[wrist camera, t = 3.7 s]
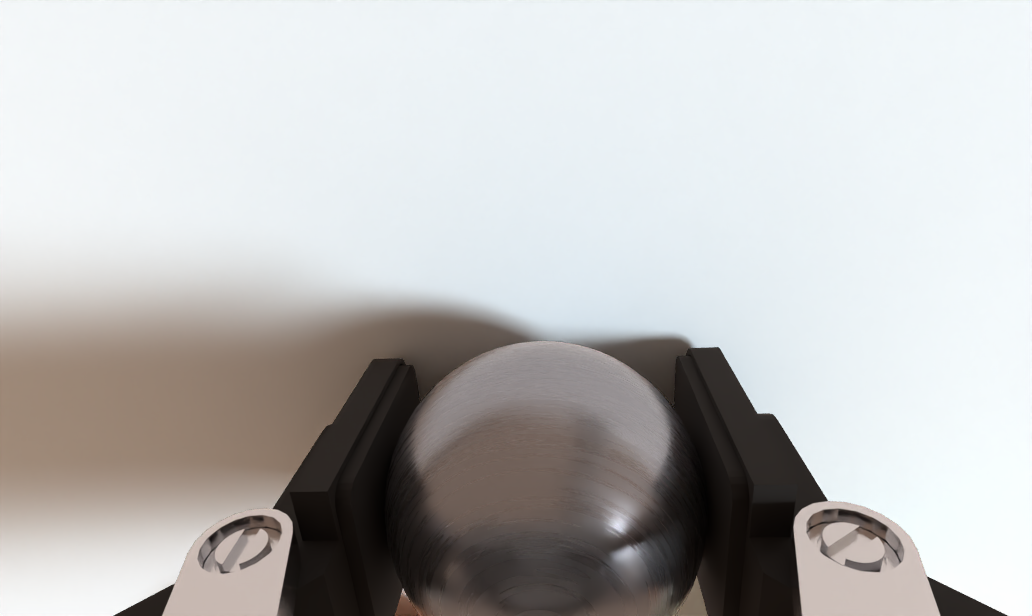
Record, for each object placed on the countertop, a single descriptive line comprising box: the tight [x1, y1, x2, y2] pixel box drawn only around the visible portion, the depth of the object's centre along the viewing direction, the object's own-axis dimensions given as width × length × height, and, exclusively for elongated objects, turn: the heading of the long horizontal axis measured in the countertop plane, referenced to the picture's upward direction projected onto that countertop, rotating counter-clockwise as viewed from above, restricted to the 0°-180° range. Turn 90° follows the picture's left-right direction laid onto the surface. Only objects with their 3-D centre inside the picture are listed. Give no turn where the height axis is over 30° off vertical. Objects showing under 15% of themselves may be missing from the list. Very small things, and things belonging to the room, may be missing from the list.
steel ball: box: [384, 341, 708, 616], centre depth 9 cm, size 5×5×5 cm
